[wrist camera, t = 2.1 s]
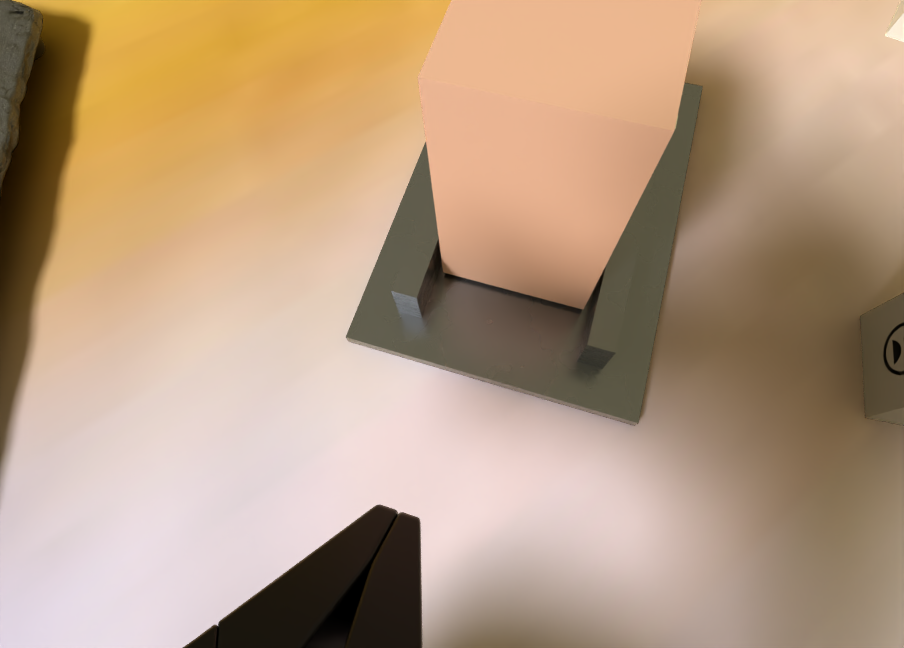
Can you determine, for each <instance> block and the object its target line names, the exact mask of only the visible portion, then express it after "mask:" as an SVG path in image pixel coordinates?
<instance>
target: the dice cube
mask: <svg viewBox="0 0 904 648" xmlns="http://www.w3.org/2000/svg"><path fill="white" fill-rule="evenodd" d="M860 323H861V344H862V364H863V385H864V406H865V418H869V419H874V420H879V421H884V422H889V423H894V424H899V425H904V293H903V294H901V295H899V296H897V297H895V298H893V299H891V300H889V301H888V302H886V303H884V304H882V305H880V306H878V307H876V308H874V309H873V310H871V311H869V312H867V313H865V314H863V315H861V316H860Z"/></svg>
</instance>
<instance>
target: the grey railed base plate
mask: <svg viewBox="0 0 904 648" xmlns="http://www.w3.org/2000/svg"><path fill="white" fill-rule="evenodd" d="M702 87H703V86H698V85H693V84H688V83H684V87H683V92H682V96H681V101H680V106H679V111H678V116H677V121H676V125H675V130H674V133H673V135H672V137H671V139H670V140H669V142H668V144H667V146H666V148H665V150H664V152H663V154H662V156H661V158H660V160H659V162H658V164H657V166H656V168H655V170H654V172H653V174H652V176H651V178H650V180H649V182H648V184H647V186H646V188H645V190H644V192H643V194H642V195H641V197H640V199H639V201H638V203H637V205H636V207H635V209H634V211H633V213H632V215H631V217H630V219H629V221H628V223H627V225H626V227H625V229H624V231H623V233H622V235H621V237H620V239H619V241H618V243H617V245H616V247H615V249H614V250H613V252H612V254H611V256H610V258H609V260H608V262H607V264H606V266H605V268H604V270H603V272H602V274H601V276H600V278H599V280H598V282H597V284H596V286H595V288H594V290H593V292H592V294H591V296H590V298H589V300H588V302H587V304H586V306H585V307H584V309H579V308H575V307H571V306H568V305H564V304H560V303H556V302H553V301H549V300H545V299H541V298H538V297H534V296H530V295H526V294H523V293H519V292H515V291H511V290H508V289H504V288H500V287H496V286H493V285H489V284H485V283H481V282H478V281H474V280H470V279H466V278H462V277H459V276H455V275H451V274H447V273H444V272H443V267H442V259H441V252H440V244H439V236H438V229H437V221H436V213H435V206H434V198H433V190H432V183H431V175H430V167H429V160H428V152H427V144H426V142H425V145H424V147H423V150H422V152H421V154H420V157H419V159H418V162H417V164H416V167H415V169H414V172H413V174H412V176H411V179H410V181H409V184H408V186H407V189H406V191H405V194H404V196H403V198H402V201H401V203H400V206H399V208H398V211H397V213H396V216H395V218H394V220H393V223H392V225H391V228H390V230H389V233H388V235H387V238H386V240H385V243H384V245H383V247H382V250H381V252H380V255H379V257H378V260H377V262H376V265H375V267H374V269H373V272H372V274H371V277H370V279H369V282H368V284H367V287H366V289H365V291H364V294H363V296H362V299H361V301H360V304H359V306H358V309H357V311H356V313H355V316H354V318H353V321H352V323H351V326H350V328H349V331H348V333H347V335H346V338H347V340H348V341H349V342H352V343H356V344H359V345H363V346H366V347H369V348H373V349H376V350H380V351H383V352H386V353H390V354H393V355H397V356H400V357H403V358H407V359H410V360H413V361H417V362H420V363H424V364H427V365H430V366H434V367H437V368H441V369H444V370H447V371H451V372H454V373H458V374H461V375H464V376H468V377H471V378H474V379H478V380H481V381H485V382H488V383H491V384H495V385H498V386H502V387H505V388H508V389H512V390H515V391H519V392H522V393H525V394H529V395H532V396H535V397H539V398H542V399H546V400H549V401H552V402H556V403H559V404H563V405H566V406H569V407H573V408H576V409H580V410H583V411H586V412H590V413H593V414H596V415H600V416H603V417H607V418H610V419H613V420H617V421H620V422H624V423H627V424H630V425H634V426H635V425H636V424H638V423H639V417H640V412H641V407H642V402H643V396H644V391H645V386H646V381H647V375H648V370H649V365H650V360H651V355H652V349H653V344H654V339H655V334H656V328H657V323H658V318H659V313H660V307H661V302H662V297H663V292H664V286H665V281H666V276H667V271H668V265H669V260H670V255H671V250H672V244H673V239H674V234H675V229H676V224H677V218H678V213H679V208H680V203H681V197H682V192H683V187H684V182H685V176H686V171H687V166H688V161H689V155H690V150H691V145H692V140H693V134H694V129H695V124H696V119H697V114H698V108H699V103H700V98H701V93H702Z"/></svg>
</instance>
